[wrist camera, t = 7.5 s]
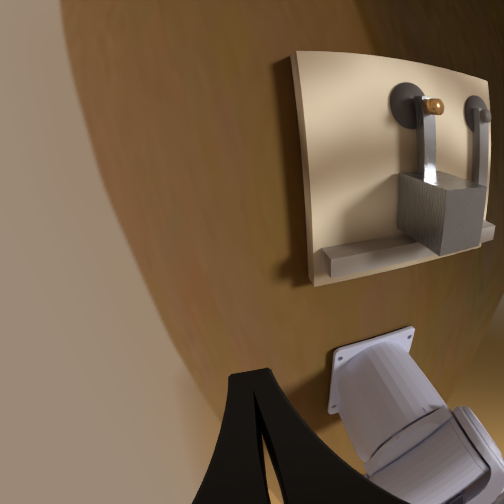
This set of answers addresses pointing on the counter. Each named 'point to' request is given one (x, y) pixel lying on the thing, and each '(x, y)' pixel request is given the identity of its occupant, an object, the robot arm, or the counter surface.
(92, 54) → the counter surface
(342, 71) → the bolt board
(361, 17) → the counter surface
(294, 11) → the counter surface
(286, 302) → the counter surface
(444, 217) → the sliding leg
